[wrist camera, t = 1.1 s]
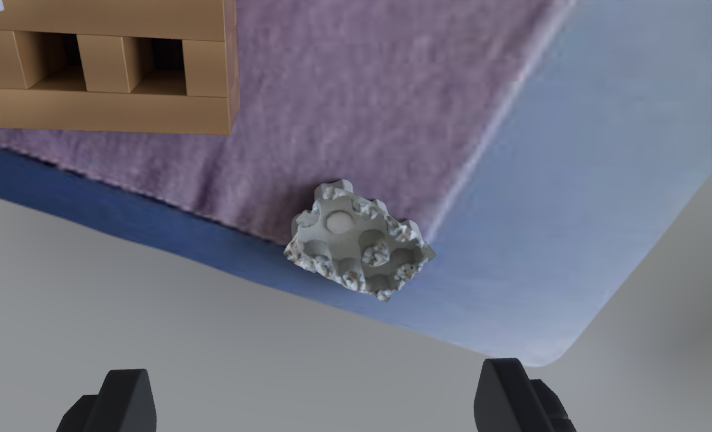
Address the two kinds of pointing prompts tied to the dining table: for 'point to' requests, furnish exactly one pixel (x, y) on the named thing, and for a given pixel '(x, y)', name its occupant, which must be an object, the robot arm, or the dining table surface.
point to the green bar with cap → (1, 6)
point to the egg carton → (356, 242)
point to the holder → (119, 66)
